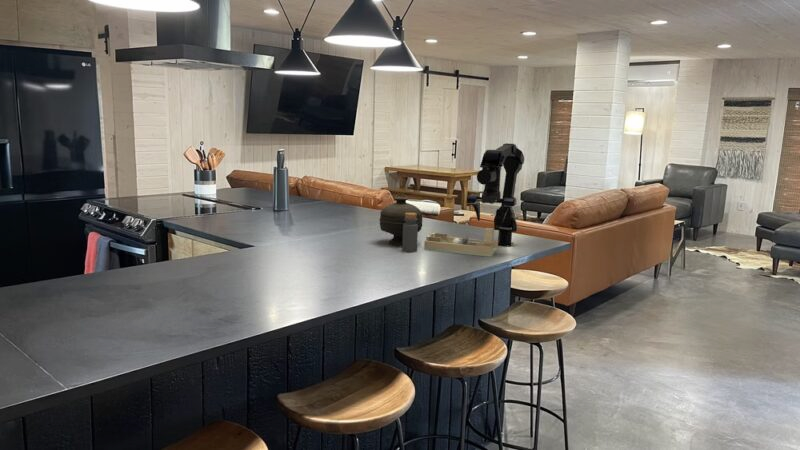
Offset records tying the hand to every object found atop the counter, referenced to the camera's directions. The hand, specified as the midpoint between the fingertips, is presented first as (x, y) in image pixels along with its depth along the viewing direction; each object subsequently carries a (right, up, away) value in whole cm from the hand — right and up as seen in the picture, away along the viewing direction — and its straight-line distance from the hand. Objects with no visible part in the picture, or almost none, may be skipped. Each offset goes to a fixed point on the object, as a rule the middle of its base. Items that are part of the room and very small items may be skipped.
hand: (490, 221), depth 230 cm
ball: (-13, -8, +6) cm, 16 cm away
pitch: (-11, -11, +6) cm, 17 cm away
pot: (-36, -9, +14) cm, 39 cm away
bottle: (-32, -12, +1) cm, 34 cm away
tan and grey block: (-5, -11, +3) cm, 12 cm away
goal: (-21, -9, +9) cm, 24 cm away
